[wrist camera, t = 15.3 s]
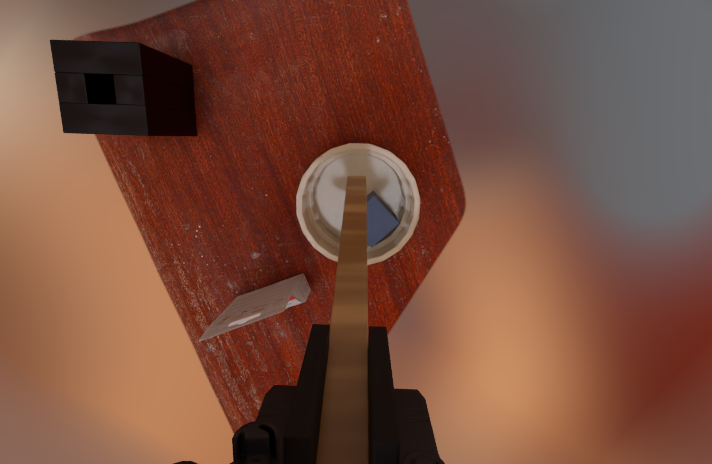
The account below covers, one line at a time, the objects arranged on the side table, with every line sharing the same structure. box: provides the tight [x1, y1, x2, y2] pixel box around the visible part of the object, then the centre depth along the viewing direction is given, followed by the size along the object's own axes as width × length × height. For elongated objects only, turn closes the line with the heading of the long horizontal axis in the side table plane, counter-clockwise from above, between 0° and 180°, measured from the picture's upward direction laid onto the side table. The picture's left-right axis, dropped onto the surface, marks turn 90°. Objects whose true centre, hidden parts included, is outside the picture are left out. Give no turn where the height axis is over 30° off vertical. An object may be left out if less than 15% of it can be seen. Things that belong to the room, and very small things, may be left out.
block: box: [367, 191, 399, 248], centre depth 42 cm, size 4×4×4 cm
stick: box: [316, 176, 369, 464], centre depth 23 cm, size 2×2×30 cm
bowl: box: [296, 142, 420, 265], centre depth 41 cm, size 12×12×6 cm
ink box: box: [199, 273, 311, 342], centre depth 41 cm, size 3×9×12 cm, turn 111°
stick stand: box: [50, 40, 197, 136], centre depth 37 cm, size 7×7×10 cm
